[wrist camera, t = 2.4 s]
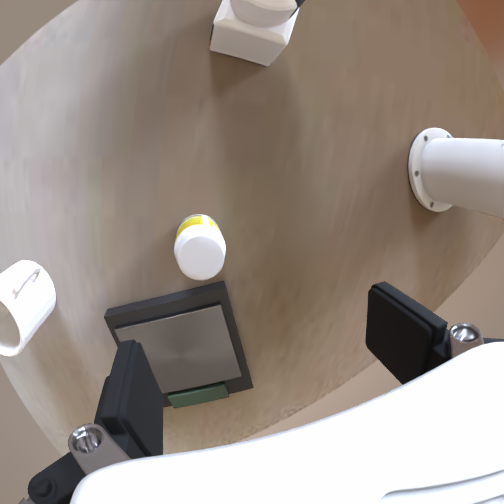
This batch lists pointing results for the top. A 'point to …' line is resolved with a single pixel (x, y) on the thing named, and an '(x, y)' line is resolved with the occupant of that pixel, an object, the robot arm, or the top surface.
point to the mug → (23, 304)
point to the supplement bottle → (199, 247)
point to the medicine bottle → (254, 28)
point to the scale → (179, 304)
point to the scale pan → (186, 347)
